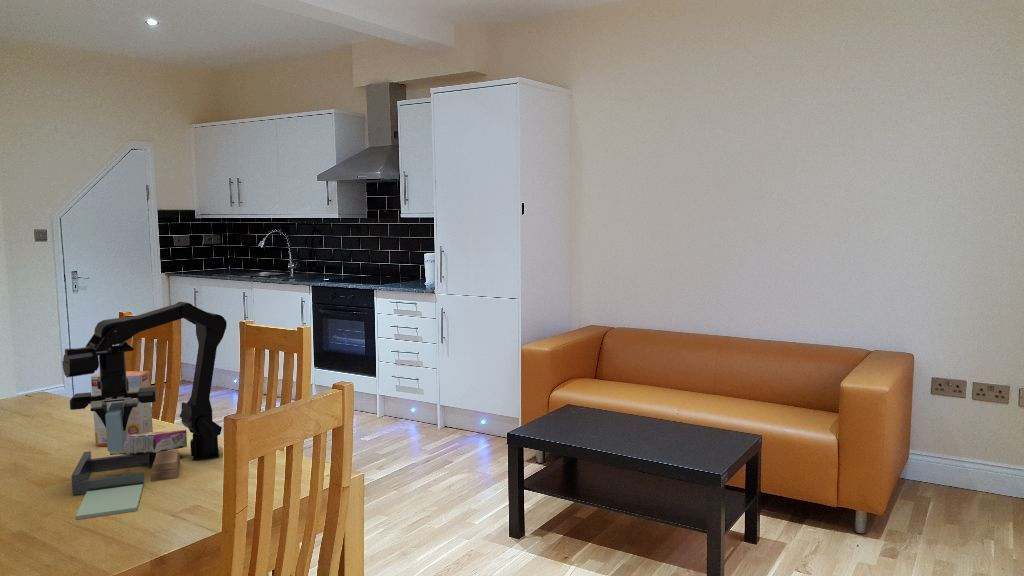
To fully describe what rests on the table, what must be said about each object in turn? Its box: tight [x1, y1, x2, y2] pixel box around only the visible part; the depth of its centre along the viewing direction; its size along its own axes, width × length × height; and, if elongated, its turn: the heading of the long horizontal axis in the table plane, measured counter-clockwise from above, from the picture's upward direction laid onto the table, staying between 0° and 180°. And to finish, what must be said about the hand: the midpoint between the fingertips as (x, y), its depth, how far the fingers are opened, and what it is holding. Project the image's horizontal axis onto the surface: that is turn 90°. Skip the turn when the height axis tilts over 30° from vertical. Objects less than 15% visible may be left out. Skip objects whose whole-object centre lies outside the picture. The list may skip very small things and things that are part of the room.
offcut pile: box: [150, 449, 181, 482], centre depth 186 cm, size 6×12×4 cm, turn 22°
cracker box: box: [90, 370, 154, 447], centre depth 208 cm, size 14×6×21 cm, turn 92°
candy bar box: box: [109, 429, 188, 456], centre depth 196 cm, size 11×5×16 cm
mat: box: [75, 484, 144, 520], centre depth 167 cm, size 12×15×1 cm
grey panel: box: [105, 402, 127, 452], centre depth 181 cm, size 3×12×9 cm, turn 22°
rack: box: [70, 451, 151, 497], centre depth 182 cm, size 15×18×5 cm
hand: (117, 431), depth 181 cm, fingers closed on grey panel, 3 cm apart
